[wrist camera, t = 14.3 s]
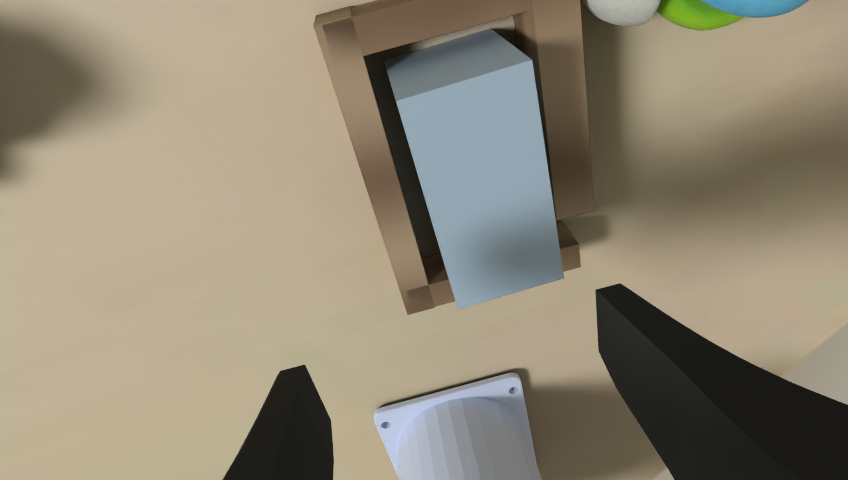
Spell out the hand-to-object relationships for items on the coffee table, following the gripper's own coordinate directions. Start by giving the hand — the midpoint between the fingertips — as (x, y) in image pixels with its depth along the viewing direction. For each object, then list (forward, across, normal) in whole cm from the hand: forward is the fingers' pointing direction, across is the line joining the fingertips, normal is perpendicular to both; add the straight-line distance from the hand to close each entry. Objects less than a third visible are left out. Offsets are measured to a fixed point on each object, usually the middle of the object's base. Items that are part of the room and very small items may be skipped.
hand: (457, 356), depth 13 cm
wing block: (+10, -2, -1) cm, 11 cm away
